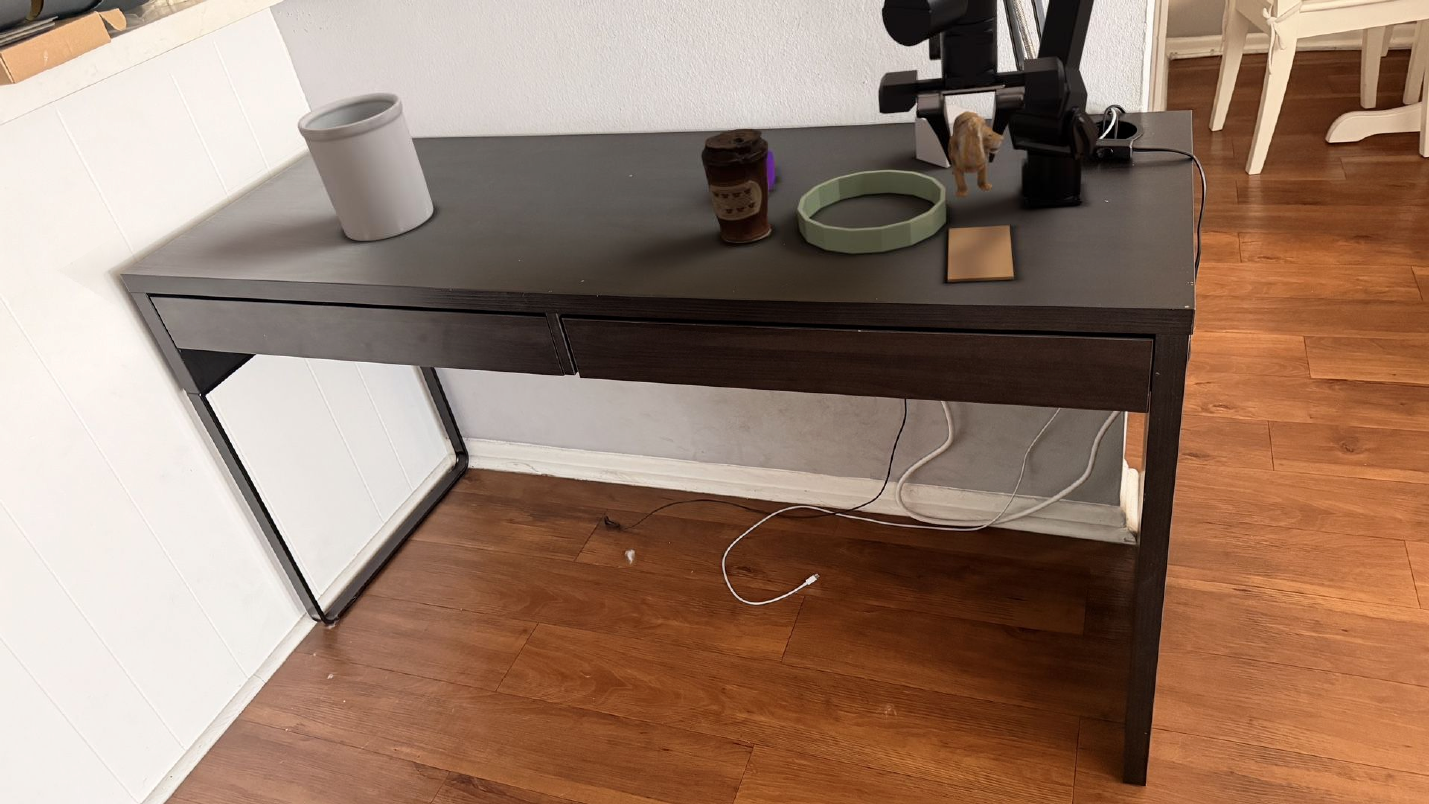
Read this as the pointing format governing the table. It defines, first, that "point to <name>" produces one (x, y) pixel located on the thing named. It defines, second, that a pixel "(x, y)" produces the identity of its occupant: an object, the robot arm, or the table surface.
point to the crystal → (770, 169)
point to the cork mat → (980, 254)
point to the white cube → (934, 138)
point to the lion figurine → (971, 149)
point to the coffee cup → (738, 183)
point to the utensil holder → (368, 165)
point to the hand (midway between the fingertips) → (971, 162)
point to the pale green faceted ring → (877, 236)
